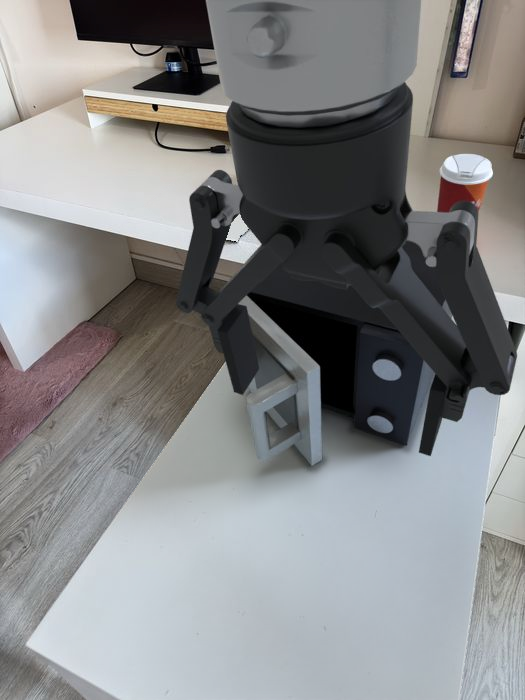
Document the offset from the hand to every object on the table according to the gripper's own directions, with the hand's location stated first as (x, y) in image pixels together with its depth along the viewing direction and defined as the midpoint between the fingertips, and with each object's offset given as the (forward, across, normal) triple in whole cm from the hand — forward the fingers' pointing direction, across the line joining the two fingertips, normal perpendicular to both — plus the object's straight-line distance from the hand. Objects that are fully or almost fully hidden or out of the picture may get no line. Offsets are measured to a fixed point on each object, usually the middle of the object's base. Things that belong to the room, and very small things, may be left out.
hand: (331, 407), depth 35 cm
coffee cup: (+29, -2, +62) cm, 68 cm away
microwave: (+28, -8, +27) cm, 39 cm away
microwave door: (+27, -14, +11) cm, 32 cm away
